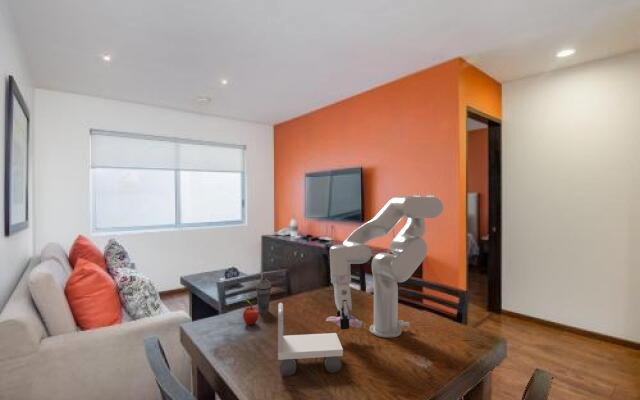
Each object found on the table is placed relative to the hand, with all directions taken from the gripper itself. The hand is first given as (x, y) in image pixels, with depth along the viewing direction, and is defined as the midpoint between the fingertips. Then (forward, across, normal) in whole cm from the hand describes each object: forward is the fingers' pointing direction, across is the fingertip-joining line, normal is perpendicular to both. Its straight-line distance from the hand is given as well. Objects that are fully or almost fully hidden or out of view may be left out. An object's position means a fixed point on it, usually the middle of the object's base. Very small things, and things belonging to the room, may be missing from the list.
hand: (343, 324), depth 120 cm
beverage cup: (+5, +34, +32) cm, 46 cm away
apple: (+4, +20, +37) cm, 42 cm away
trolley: (+5, -16, +15) cm, 22 cm away
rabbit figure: (+1, 0, -1) cm, 2 cm away
